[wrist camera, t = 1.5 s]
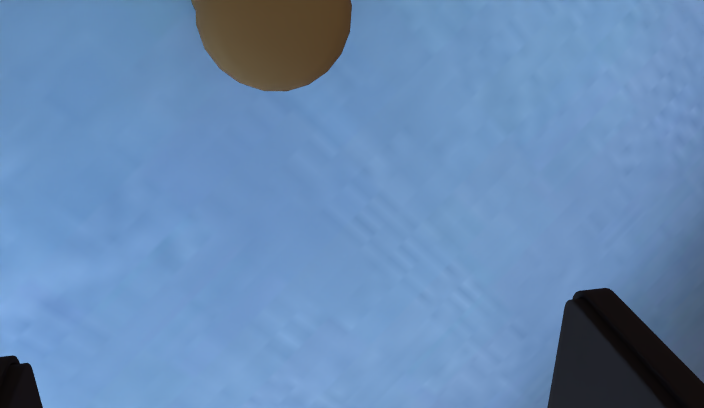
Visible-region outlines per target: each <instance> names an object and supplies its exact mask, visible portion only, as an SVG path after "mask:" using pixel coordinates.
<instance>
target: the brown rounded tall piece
mask: <svg viewBox="0 0 704 408" xmlns="http://www.w3.org/2000/svg"><path fill="white" fill-rule="evenodd" d="M191 1H192V4H193V6H194V8H195V10H196V25H197V28H198V31H199V34H200V37H201V40H202V42H203V45H204V48H205V50H206V51H207V52H208V54H209V55H210V56H211V58H212V59H213V60H214V62H215V63H216V64H217V66H218V67H219V68H220V69H221V70H222V71H224V72H225V73H226V74H228V75H229V76H231V77H232V78H233V79H235V80H236V81H238V82H239V83H242V84H245V85H248V86H251V87H254V88H257V89H260V90H263V91H289V90H292V89H296V88H299V87H302V86H306V85H309V84H310V83H312V82H313V81H314V80H316V79H317V78H319V77H320V76H322V75H323V74H325V73H326V72H327V71H328V70H329V69H330V68H331V66H332V65H333V64H334V63H335V61H336V60H337V59H338V57H339V56H340V55H341V53H342V51H343V48H344V46H345V43H346V40H347V38H348V35H349V33H350V23H351V9H352V4H351V0H191Z"/></svg>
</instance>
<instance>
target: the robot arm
mask: <svg viewBox="0 0 704 408" xmlns="http://www.w3.org/2000/svg"><path fill="white" fill-rule="evenodd" d="M0 408H43V407H42V403H41V400H40V396H39V392H38V388H37V385H36V381H35V377H34V374H33V370H32V367H31V365H30V364H29V363H23V364H20V363H19V360H18V359H17V357H16V356H5V357H0ZM548 408H704V383H703V382H702V381H701V380H700V379H699V378H698V377H697V376H696V375H695V374H694V373H693V372H692V371H691V370H690V369H689V368H688V367H687V366H686V365H685V364H684V363H683V362H682V361H681V360H680V359H679V358H678V357H677V356H676V355H675V354H674V353H673V352H672V351H671V350H670V349H669V348H668V347H667V346H666V345H665V344H664V343H663V342H662V341H661V340H660V339H659V338H658V337H657V336H656V335H655V334H654V333H653V332H652V331H651V330H650V329H649V328H648V326H647V325H646V324H645V323H644V322H643V321H642V320H641V319H640V318H639V317H638V316H637V315H636V314H635V313H634V312H633V311H632V310H631V309H630V308H629V307H628V306H627V305H626V304H625V303H624V302H623V301H622V300H621V299H620V298H619V297H618V296H617V295H616V294H615V293H614V292H613V291H612V290H610V289H608V288H601V289H592V290H583V291H578V292H576V293H575V294H574V296H573V299H572V300H569V301H567V302H566V304H565V308H564V314H563V320H562V326H561V332H560V338H559V344H558V349H557V355H556V361H555V367H554V373H553V379H552V385H551V390H550V396H549V402H548Z"/></svg>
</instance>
